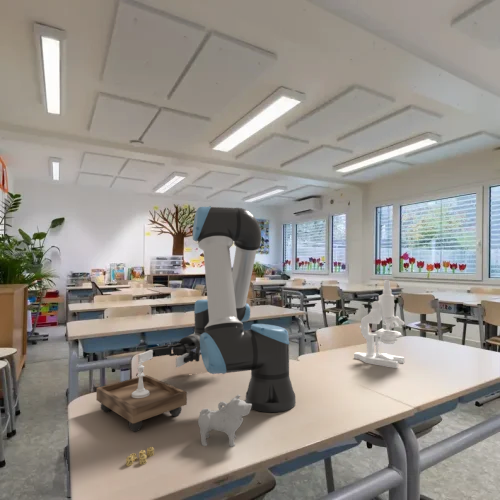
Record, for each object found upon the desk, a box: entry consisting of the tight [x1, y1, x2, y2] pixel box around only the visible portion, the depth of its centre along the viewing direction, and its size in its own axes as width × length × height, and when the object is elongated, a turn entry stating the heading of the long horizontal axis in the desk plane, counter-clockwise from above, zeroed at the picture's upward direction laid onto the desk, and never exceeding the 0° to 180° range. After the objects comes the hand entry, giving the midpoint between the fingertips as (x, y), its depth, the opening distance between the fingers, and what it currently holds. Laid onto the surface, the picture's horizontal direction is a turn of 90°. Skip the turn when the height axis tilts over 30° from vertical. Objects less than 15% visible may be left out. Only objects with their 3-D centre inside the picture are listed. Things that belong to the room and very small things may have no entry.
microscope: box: [353, 279, 406, 369], centre depth 150 cm, size 18×20×35 cm
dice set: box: [125, 446, 155, 467], centre depth 75 cm, size 5×5×2 cm
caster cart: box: [96, 374, 188, 432], centre depth 99 cm, size 22×16×6 cm
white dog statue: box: [197, 394, 252, 448], centre depth 83 cm, size 5×13×11 cm, turn 87°
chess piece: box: [132, 359, 150, 398], centre depth 100 cm, size 5×5×10 cm
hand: (157, 360), depth 107 cm, fingers open, 13 cm apart
